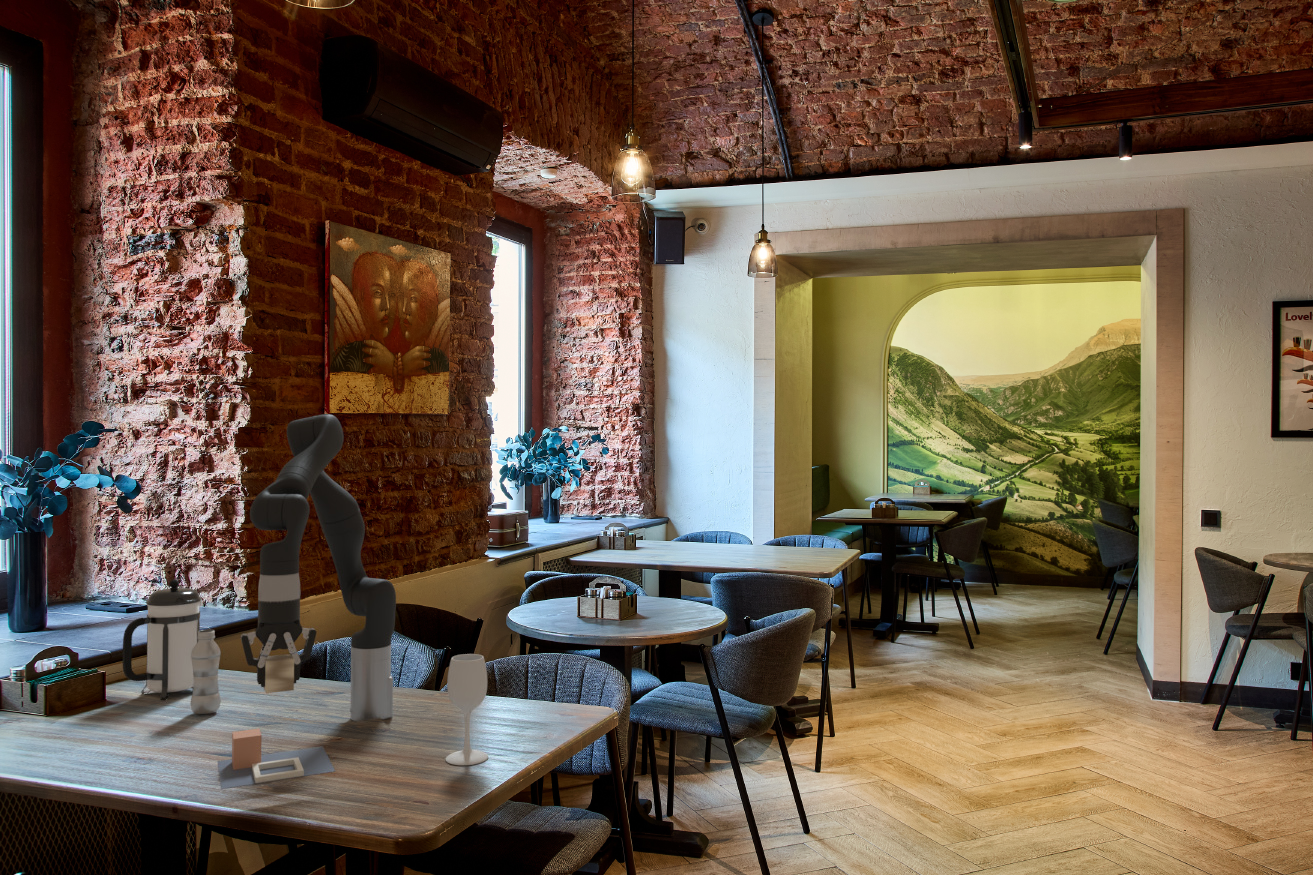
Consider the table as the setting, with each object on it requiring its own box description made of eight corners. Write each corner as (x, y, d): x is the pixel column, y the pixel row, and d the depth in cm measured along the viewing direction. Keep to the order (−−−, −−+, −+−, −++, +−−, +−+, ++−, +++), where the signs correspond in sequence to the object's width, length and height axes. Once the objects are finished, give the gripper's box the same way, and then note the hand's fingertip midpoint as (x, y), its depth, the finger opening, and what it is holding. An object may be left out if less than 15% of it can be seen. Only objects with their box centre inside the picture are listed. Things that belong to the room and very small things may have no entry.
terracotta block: (259, 758, 183) (259, 728, 183) (261, 765, 179) (261, 735, 179) (231, 762, 181) (232, 731, 181) (233, 769, 176) (233, 738, 176)
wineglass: (467, 768, 182) (468, 663, 182) (436, 760, 186) (437, 658, 187) (496, 756, 189) (497, 655, 189) (466, 749, 194) (467, 651, 194)
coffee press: (151, 686, 245) (152, 576, 246) (213, 685, 247) (214, 575, 248) (120, 704, 228) (122, 585, 229) (187, 702, 230) (188, 584, 230)
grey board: (322, 753, 191) (322, 741, 191) (335, 778, 176) (335, 765, 176) (217, 768, 181) (217, 756, 181) (221, 796, 166) (221, 783, 166)
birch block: (290, 684, 179) (291, 653, 179) (293, 690, 174) (294, 658, 174) (263, 687, 176) (263, 656, 177) (265, 693, 172) (266, 661, 172)
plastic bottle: (208, 717, 216) (209, 634, 217) (183, 716, 218) (184, 632, 218) (226, 710, 223) (227, 629, 223) (202, 708, 224) (203, 627, 224)
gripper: (315, 591, 182) (314, 676, 182) (237, 596, 176) (236, 684, 175) (321, 596, 176) (320, 684, 175) (240, 602, 169) (239, 693, 169)
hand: (278, 684), depth 175 cm, fingers closed on birch block, 5 cm apart
